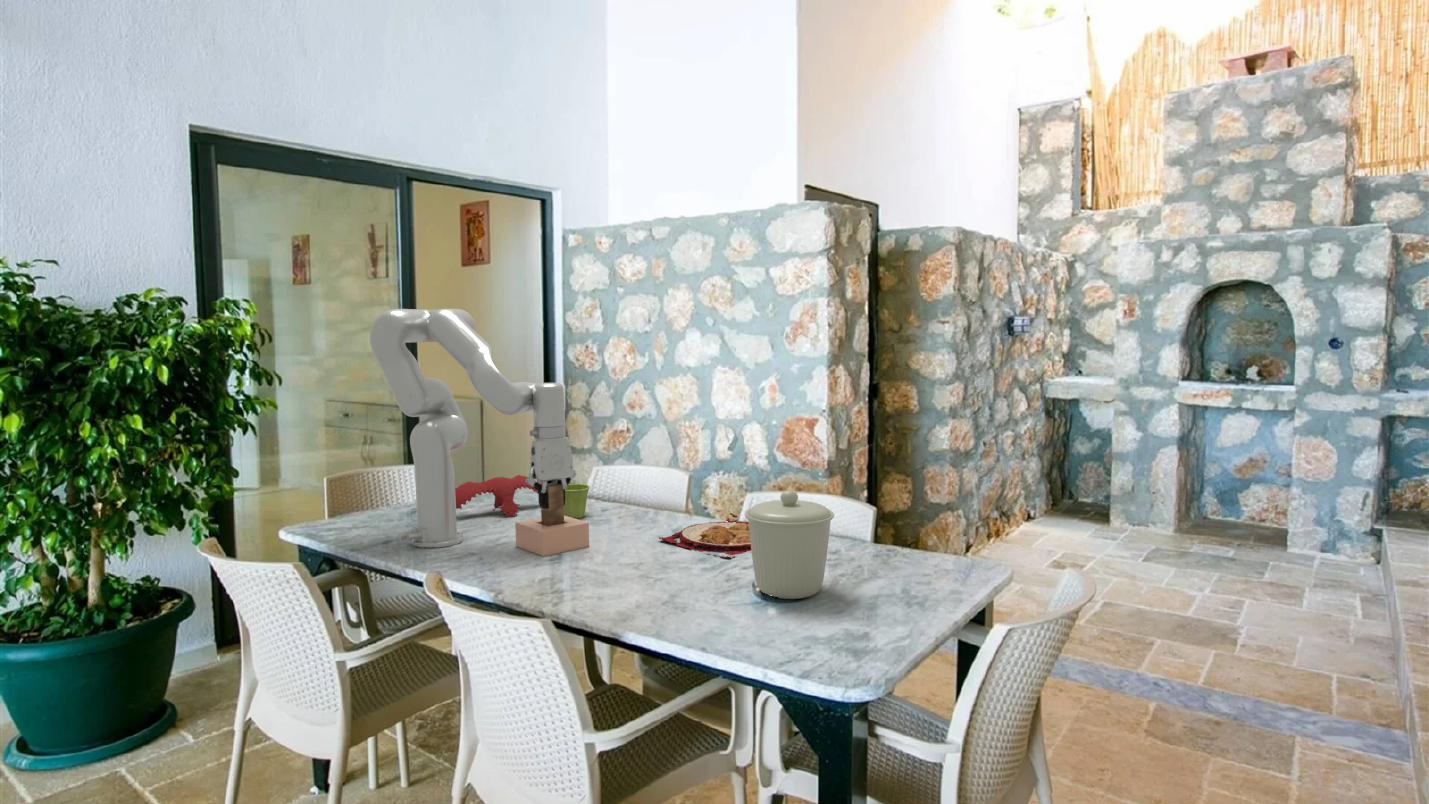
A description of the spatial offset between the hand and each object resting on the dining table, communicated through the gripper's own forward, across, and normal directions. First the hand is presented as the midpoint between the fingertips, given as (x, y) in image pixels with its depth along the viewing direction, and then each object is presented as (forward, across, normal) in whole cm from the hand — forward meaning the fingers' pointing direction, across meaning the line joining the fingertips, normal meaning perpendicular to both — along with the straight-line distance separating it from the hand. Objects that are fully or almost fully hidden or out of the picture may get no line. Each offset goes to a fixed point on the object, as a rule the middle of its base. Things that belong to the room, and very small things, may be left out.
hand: (552, 505), depth 209 cm
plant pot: (+10, +22, +24) cm, 34 cm away
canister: (+11, +16, -65) cm, 68 cm away
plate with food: (+11, +36, -26) cm, 45 cm away
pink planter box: (+10, 0, 0) cm, 10 cm away
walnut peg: (+7, 0, 0) cm, 7 cm away
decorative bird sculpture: (+10, +9, +42) cm, 44 cm away
